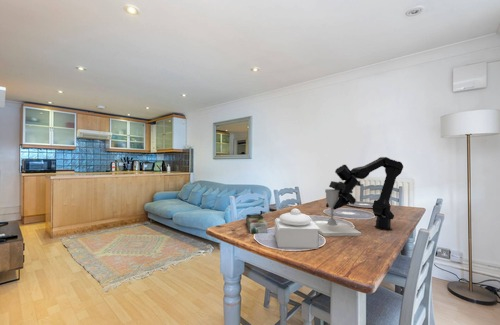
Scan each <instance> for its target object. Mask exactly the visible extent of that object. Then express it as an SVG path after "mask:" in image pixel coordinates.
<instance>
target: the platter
mask: <svg viewBox="0 0 500 325" xmlns="http://www.w3.org/2000/svg"><path fill="white" fill-rule="evenodd" d="M314 223H315V224H316V225H317V226H318V227H319V228H320V231H319V235H321V236H323V237H350V236H351V237H352V236H354V237H355V236H356V237H358V236H362V232H360V231H359V230H357V229H356V228H354V227H352V226H350V225H349V224H346V223H344V222H338V223H337V222H336V223H337V225H335V226H333V225H328V224H327V223H328V222H327V223H321V222H320V223H319V222H318V223H316V222H314Z"/></svg>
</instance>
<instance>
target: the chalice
mask: <svg viewBox="0 0 500 325" xmlns="http://www.w3.org/2000/svg"><path fill="white" fill-rule="evenodd" d="M324 190H325V191H326V192H325V200H326V204H327V203H328V205H329V207H328V208H330V219H329V220H328V221H327V224H328V225H333V226H335V225H337V221H336V220H335V219H334V216H335V215H334V209H333V207H334V206H335V204H336V203H337V201H338V200H339V191H340V190H335V189H333V188H327V189H324Z"/></svg>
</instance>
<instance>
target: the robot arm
mask: <svg viewBox="0 0 500 325" xmlns="http://www.w3.org/2000/svg"><path fill="white" fill-rule="evenodd" d="M381 167H382V168H384V172H385V178H384V181H383V186H382V189H381V192H380V195H379V198H378V199H377V200H376V199H375V200H373V204H372V206H371V207H372V209H371V210H372V211H373V215H374V217H376V220H375V225H374V227H375V228H377V229H379V230H381V231H390V230H391V231H392V230H393V228H391V226H392V225H391V223H392V222H391V221H392V220H394V218H395V215H394V213H393V212H392V211H391V203H390V199H391V196H392V193H393V189H394V185H395V184H396V179H397V177H399V175H401V173H402V171H403V170H404V164H403V163H402V162H401V161H399V160H396V159H392V158H389V157H387V156H380V157H378V158H377V159H375V160H373V161H371V162H369V163H368V164H364V165H362V166H357V167H354V168H352V169H351V170H350V168H349V167H348V166H347V164H342V165H341V166H339V167H337V168H336V169H335V171H334V173H335V175H337V176H338V177H339V178H340V180H342V181H338V182H337V181H335V180H334V181H332V180H331V181H330V183H329V186H328V187H329V188H330V189H335V190H340V191H339V198H338V201H337V203H336V204H335V206H334V207H333V211H334V210H337V209H338V210H339V208H342V207H345V206H347V205H348V206H349V205H355V203H356V202H357V199H356V198H355V197H354V196H353V192H354V191H353V190H354V189H355V188H356V186H357V187H361V186H362V185H361V184H362V183H361V181H360V180H364V179H366V178H367V177H369V175H370V173H372V172H374V171H376V170H377V169H379V168H381ZM343 181H344V182H343ZM325 193H326V191H325ZM325 207H326V208H330V207H329V205H328V203H327V202H326V205H325Z"/></svg>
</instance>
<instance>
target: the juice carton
mask: <svg viewBox="0 0 500 325" xmlns="http://www.w3.org/2000/svg"><path fill="white" fill-rule="evenodd" d="M245 219H246V220H245V225H246V227H247V229H248V231H249V234H254V233H256V234H268V222H267V221H266V219H265V217H264V216H263V215H262V214H257V213H256V214H255V213H254V214H250V213H249V214H246V218H245Z"/></svg>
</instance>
